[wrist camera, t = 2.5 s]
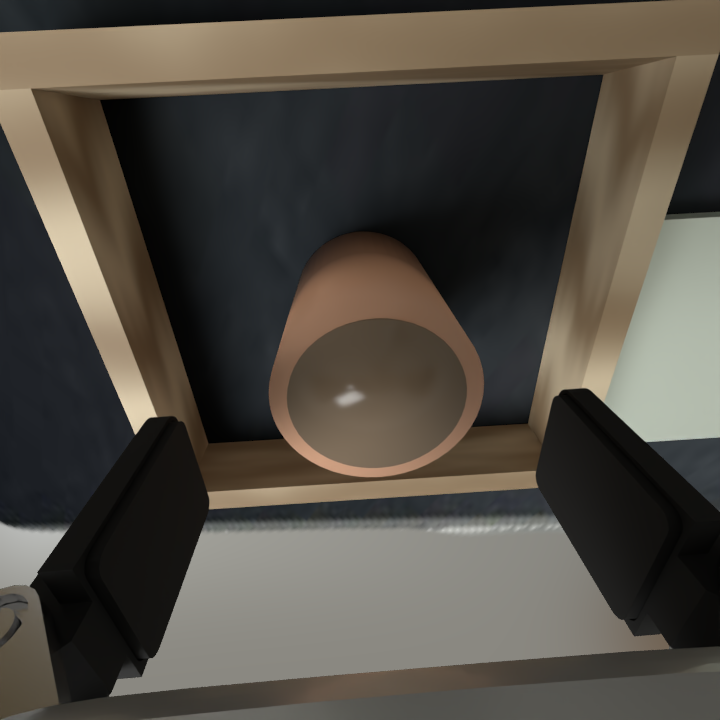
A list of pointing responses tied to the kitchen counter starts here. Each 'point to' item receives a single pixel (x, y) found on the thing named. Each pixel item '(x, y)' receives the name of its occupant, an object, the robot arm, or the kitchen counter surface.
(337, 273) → the terracotta pot
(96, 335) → the frame
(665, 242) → the sage tile
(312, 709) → the robot arm
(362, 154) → the kitchen counter surface
